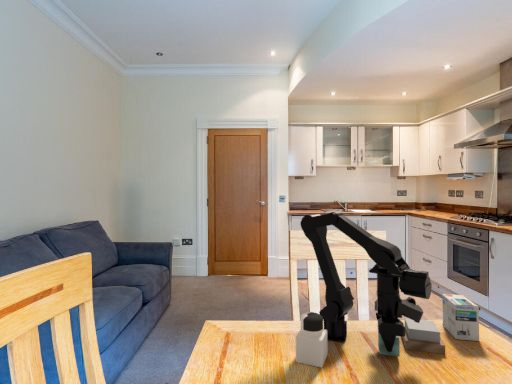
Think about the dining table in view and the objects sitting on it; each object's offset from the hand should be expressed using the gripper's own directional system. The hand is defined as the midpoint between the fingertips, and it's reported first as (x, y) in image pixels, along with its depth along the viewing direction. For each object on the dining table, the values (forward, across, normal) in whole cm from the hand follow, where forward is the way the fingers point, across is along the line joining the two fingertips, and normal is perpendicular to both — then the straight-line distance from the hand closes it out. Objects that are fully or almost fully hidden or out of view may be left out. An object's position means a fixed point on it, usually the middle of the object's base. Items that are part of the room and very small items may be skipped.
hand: (388, 346), depth 85 cm
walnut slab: (+3, +10, -10) cm, 14 cm away
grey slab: (0, +10, -10) cm, 14 cm away
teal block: (+1, 0, 0) cm, 1 cm away
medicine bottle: (+2, -8, +20) cm, 22 cm away
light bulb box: (+3, +21, -23) cm, 31 cm away
